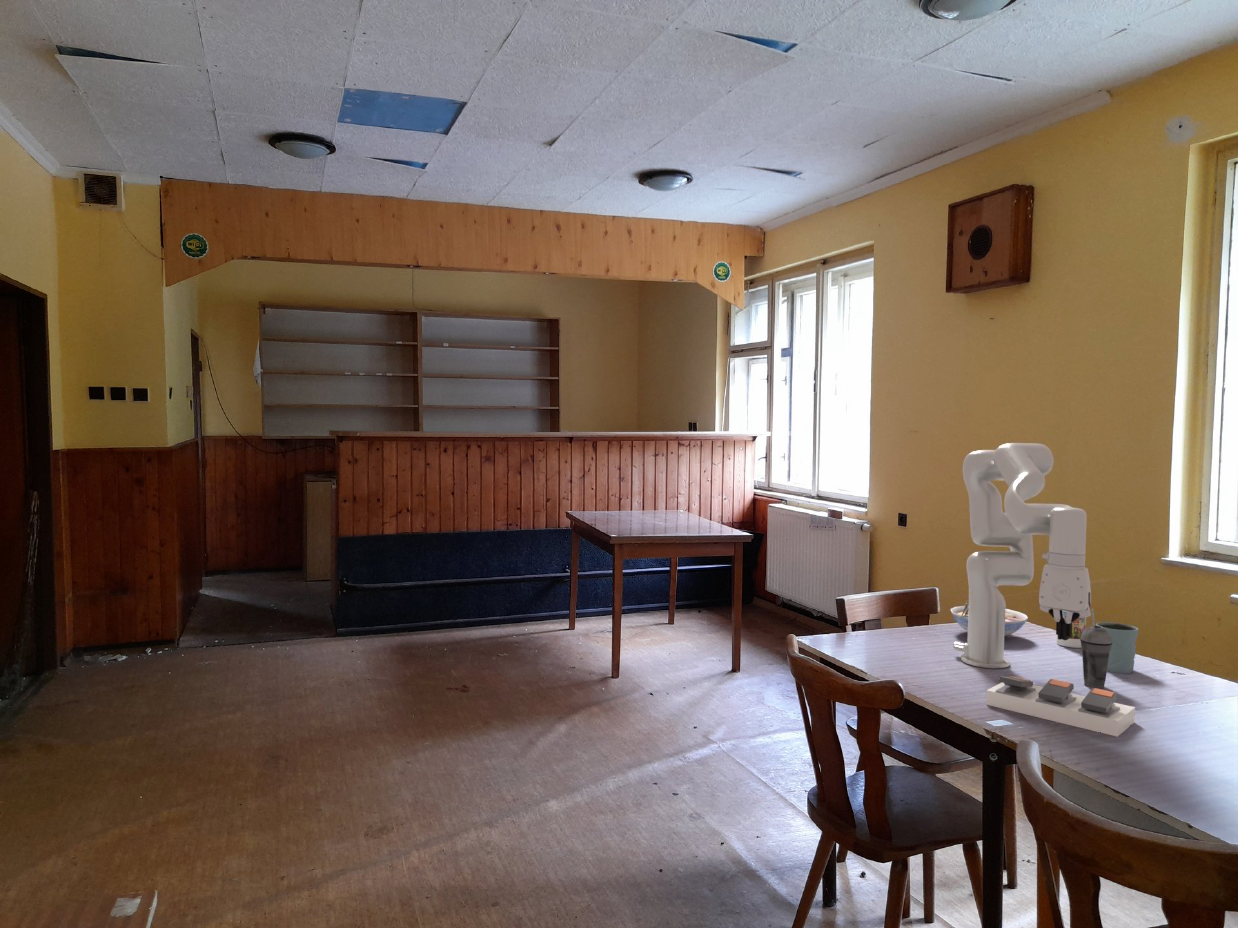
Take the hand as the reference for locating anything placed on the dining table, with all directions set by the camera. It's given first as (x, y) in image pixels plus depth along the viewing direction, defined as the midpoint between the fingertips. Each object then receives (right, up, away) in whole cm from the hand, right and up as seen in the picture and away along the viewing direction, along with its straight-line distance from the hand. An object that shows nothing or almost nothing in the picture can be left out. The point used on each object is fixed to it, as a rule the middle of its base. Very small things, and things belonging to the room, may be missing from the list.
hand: (1063, 638), depth 196 cm
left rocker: (-9, -12, +5) cm, 16 cm away
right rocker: (+4, -13, -8) cm, 15 cm away
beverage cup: (+19, -17, +22) cm, 34 cm away
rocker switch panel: (-1, -17, 0) cm, 17 cm away
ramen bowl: (+14, -14, +73) cm, 76 cm away
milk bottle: (+35, -15, +63) cm, 74 cm away
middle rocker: (-3, -12, -2) cm, 13 cm away
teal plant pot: (+34, -16, +38) cm, 54 cm away
